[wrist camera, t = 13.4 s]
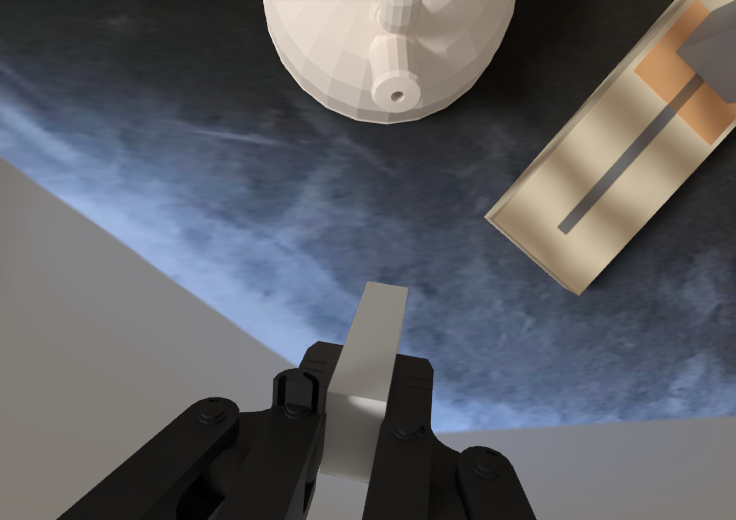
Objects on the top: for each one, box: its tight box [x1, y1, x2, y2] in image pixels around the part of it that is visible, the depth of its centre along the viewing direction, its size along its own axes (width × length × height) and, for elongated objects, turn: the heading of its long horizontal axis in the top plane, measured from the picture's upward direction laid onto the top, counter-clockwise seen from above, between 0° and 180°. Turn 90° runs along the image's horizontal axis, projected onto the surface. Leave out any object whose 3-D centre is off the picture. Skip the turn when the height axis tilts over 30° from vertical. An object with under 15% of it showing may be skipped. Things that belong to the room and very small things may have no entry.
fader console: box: [484, 0, 736, 295], centre depth 42 cm, size 26×10×3 cm, turn 140°
